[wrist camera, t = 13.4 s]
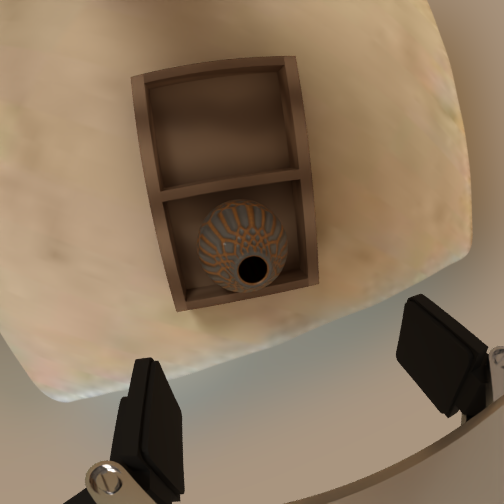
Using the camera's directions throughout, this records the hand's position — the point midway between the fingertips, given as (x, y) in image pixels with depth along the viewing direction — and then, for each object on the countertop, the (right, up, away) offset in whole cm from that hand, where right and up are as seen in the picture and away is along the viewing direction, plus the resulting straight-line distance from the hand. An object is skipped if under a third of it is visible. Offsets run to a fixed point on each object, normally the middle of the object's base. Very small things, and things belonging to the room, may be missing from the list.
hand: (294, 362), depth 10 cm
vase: (-3, +6, +16) cm, 18 cm away
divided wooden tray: (-4, +10, +16) cm, 19 cm away
